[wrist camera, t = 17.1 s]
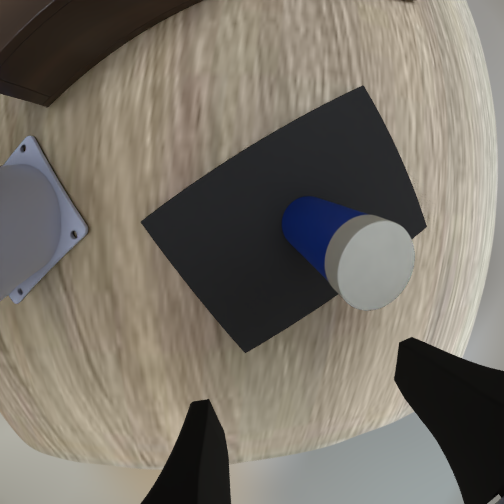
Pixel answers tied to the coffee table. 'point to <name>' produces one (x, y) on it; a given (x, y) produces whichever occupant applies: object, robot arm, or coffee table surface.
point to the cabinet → (67, 40)
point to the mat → (281, 215)
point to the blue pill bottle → (351, 250)
